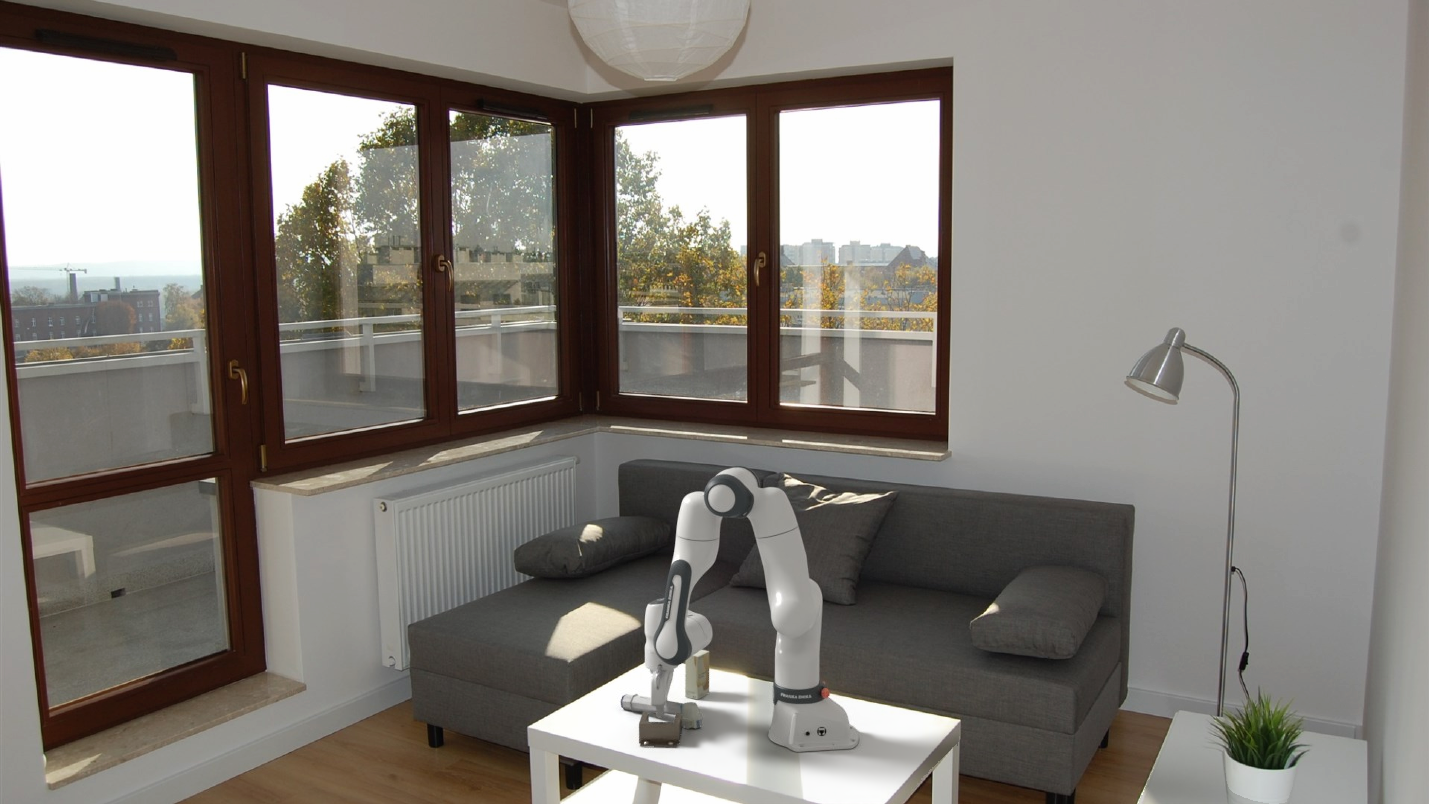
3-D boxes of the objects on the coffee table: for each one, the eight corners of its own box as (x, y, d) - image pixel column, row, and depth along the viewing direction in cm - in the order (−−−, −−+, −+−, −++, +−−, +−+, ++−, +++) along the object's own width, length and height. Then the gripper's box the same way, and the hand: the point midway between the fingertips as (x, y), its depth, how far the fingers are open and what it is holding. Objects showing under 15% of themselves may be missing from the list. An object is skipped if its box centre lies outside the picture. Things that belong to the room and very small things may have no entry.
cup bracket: (682, 732, 272) (681, 713, 272) (678, 747, 263) (678, 727, 263) (642, 731, 273) (642, 712, 273) (638, 746, 264) (637, 727, 263)
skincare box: (697, 700, 294) (697, 657, 293) (684, 697, 296) (684, 654, 295) (710, 693, 300) (710, 650, 298) (697, 690, 302) (697, 647, 301)
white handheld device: (630, 690, 291) (704, 697, 276) (633, 715, 291) (707, 723, 276) (617, 696, 286) (692, 704, 272) (620, 721, 287) (695, 730, 272)
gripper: (669, 673, 269) (670, 726, 271) (677, 646, 290) (677, 696, 291) (644, 672, 270) (645, 725, 271) (654, 646, 290) (654, 696, 291)
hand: (662, 710), depth 281 cm, fingers closed on white handheld device, 7 cm apart
